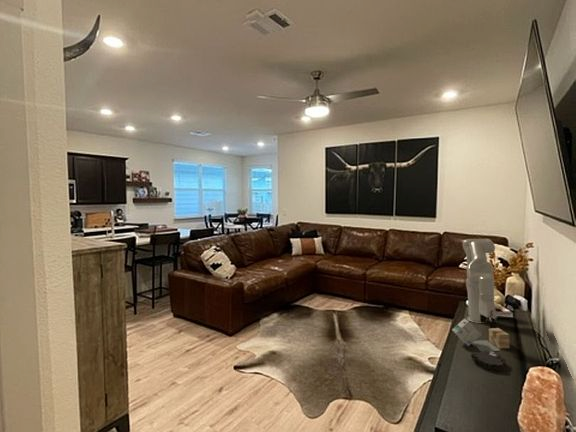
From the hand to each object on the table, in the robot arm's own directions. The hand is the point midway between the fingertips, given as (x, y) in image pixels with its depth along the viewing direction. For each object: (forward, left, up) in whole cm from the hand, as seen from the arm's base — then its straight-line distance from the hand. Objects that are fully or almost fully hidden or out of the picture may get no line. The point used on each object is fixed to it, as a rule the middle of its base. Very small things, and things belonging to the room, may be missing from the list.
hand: (488, 324), depth 194 cm
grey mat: (+1, -4, -12) cm, 13 cm away
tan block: (0, +6, -12) cm, 14 cm away
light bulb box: (-2, -8, -1) cm, 8 cm away
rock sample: (+22, -13, -13) cm, 29 cm away
